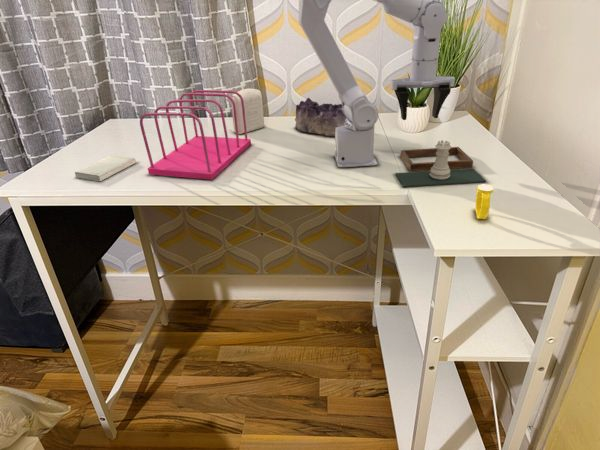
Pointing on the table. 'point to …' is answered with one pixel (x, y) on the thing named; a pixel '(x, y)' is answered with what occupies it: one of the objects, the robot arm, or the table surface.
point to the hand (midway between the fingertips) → (419, 117)
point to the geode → (319, 117)
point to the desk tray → (462, 163)
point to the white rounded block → (248, 110)
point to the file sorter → (197, 142)
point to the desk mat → (425, 180)
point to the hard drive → (105, 168)
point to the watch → (483, 200)
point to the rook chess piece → (441, 162)
